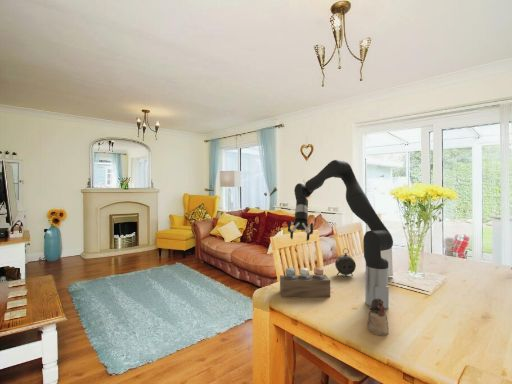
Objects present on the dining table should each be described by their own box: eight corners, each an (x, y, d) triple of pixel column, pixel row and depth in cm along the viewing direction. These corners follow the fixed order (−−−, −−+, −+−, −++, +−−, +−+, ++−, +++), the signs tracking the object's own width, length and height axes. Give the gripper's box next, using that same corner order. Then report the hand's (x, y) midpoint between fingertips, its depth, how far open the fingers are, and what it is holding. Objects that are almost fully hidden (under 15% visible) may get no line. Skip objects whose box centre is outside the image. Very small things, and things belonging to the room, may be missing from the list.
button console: (330, 296, 129) (330, 279, 129) (282, 297, 128) (282, 280, 128) (325, 290, 137) (325, 273, 137) (280, 291, 136) (280, 274, 136)
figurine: (382, 325, 103) (382, 294, 103) (392, 335, 96) (392, 302, 96) (364, 325, 103) (364, 294, 102) (372, 336, 96) (373, 302, 95)
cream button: (310, 275, 130) (310, 270, 130) (301, 275, 130) (301, 270, 130) (307, 272, 134) (307, 267, 134) (299, 272, 134) (299, 267, 134)
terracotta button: (324, 275, 130) (324, 270, 130) (315, 275, 130) (315, 270, 130) (321, 272, 135) (321, 267, 135) (313, 272, 135) (313, 267, 135)
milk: (388, 271, 166) (389, 229, 165) (392, 277, 155) (393, 232, 154) (367, 269, 169) (368, 228, 168) (370, 275, 158) (370, 231, 157)
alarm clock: (353, 274, 160) (354, 247, 159) (356, 277, 155) (356, 249, 154) (334, 274, 161) (335, 247, 160) (336, 277, 156) (336, 249, 155)
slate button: (295, 275, 130) (295, 270, 130) (286, 276, 130) (286, 271, 130) (293, 272, 134) (293, 268, 134) (285, 272, 134) (285, 268, 134)
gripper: (289, 209, 158) (287, 235, 150) (314, 212, 156) (313, 238, 148) (289, 215, 165) (286, 240, 156) (312, 217, 163) (311, 243, 154)
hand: (299, 239), depth 152 cm, fingers open, 8 cm apart
